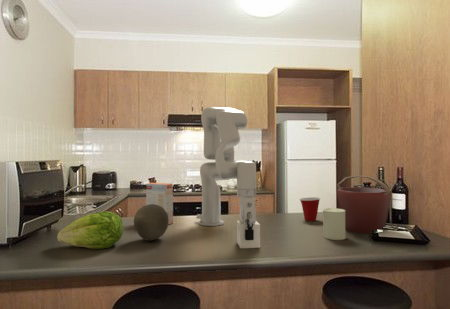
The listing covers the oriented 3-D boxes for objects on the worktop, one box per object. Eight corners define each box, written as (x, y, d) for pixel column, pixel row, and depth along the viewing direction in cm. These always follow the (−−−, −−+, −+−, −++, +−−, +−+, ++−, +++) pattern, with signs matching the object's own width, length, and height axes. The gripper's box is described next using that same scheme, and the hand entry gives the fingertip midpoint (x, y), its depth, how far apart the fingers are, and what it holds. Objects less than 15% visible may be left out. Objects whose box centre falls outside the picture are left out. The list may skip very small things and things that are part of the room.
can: (329, 233, 137) (328, 206, 137) (349, 236, 130) (349, 208, 130) (318, 237, 130) (318, 208, 130) (339, 241, 124) (339, 211, 124)
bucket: (326, 225, 150) (326, 175, 150) (361, 222, 158) (361, 173, 158) (366, 238, 127) (365, 178, 127) (404, 233, 135) (403, 176, 135)
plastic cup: (304, 217, 171) (303, 195, 171) (323, 219, 165) (323, 197, 165) (296, 220, 162) (296, 198, 162) (316, 223, 156) (316, 199, 156)
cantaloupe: (132, 238, 130) (131, 203, 130) (165, 234, 136) (164, 201, 136) (136, 247, 117) (135, 208, 117) (172, 243, 123) (172, 205, 123)
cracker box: (173, 223, 158) (173, 183, 158) (165, 225, 153) (165, 184, 153) (154, 220, 166) (153, 182, 166) (145, 222, 161) (145, 183, 161)
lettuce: (69, 224, 129) (50, 213, 116) (127, 215, 130) (114, 203, 117) (65, 259, 122) (45, 251, 109) (127, 249, 123) (113, 240, 110)
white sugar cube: (240, 248, 115) (239, 225, 115) (237, 242, 123) (236, 220, 123) (260, 247, 116) (259, 224, 116) (255, 241, 124) (255, 220, 124)
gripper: (261, 195, 111) (261, 242, 111) (251, 190, 128) (252, 230, 128) (240, 196, 110) (241, 243, 110) (234, 190, 128) (234, 231, 128)
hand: (246, 236), depth 119 cm, fingers open, 9 cm apart
